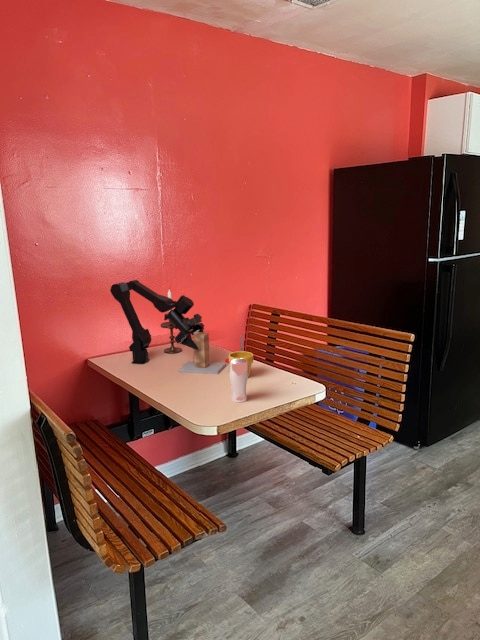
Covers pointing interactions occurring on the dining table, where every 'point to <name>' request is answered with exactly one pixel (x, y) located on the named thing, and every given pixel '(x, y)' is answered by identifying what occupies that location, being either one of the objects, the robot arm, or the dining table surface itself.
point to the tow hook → (241, 348)
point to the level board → (211, 369)
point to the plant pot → (243, 355)
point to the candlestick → (171, 326)
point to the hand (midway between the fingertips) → (202, 346)
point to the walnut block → (202, 350)
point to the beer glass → (238, 379)
